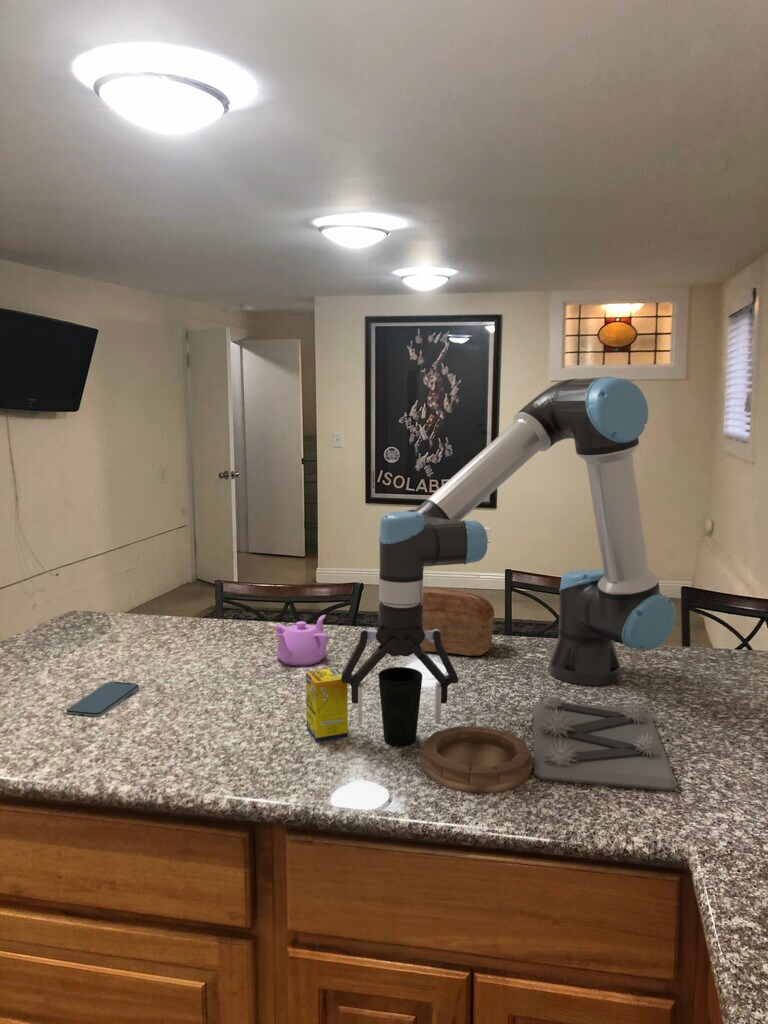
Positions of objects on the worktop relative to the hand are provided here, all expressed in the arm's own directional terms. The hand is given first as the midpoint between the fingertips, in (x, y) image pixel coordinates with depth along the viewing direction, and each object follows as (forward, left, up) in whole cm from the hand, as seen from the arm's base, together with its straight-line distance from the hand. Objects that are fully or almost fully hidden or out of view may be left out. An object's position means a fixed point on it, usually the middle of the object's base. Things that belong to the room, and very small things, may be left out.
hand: (398, 720), depth 136 cm
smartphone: (+58, -19, -4) cm, 61 cm away
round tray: (-12, +10, -4) cm, 16 cm away
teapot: (+21, -44, -4) cm, 49 cm away
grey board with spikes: (-34, +3, -4) cm, 35 cm away
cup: (0, 0, -4) cm, 4 cm away
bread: (-11, -52, -4) cm, 53 cm away
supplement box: (+13, -3, -4) cm, 14 cm away
